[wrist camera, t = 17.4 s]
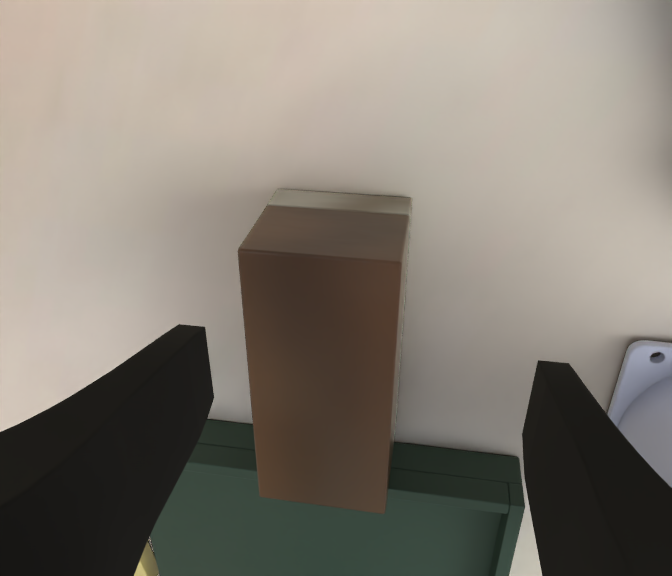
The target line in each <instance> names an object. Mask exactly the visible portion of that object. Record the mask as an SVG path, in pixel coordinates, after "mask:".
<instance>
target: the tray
mask: <svg viewBox="0 0 672 576" xmlns="http://www.w3.org/2000/svg"><path fill="white" fill-rule="evenodd" d="M524 509H525V503H524V494H523V486H522V479H521V470H520V462H519V458H518V457H512V456H504V455H495V454H487V453H479V452H471V451H463V450H454V449H446V448H438V447H430V446H422V445H414V444H405V443H397V442H394V445H393V454H392V462H391V471H390V479H389V487H388V496H387V504H386V512H385V514H379V513H371V512H364V511H357V510H350V509H343V508H336V507H328V506H321V505H314V504H307V503H300V502H293V501H285V500H278V499H271V498H264V497H260V496H259V487H258V475H257V464H256V453H255V441H254V430H253V425H250V424H242V423H234V422H225V421H217V420H209V419H207V420H206V423H205V425H204V428H203V431H202V433H201V436H200V438H199V440H198V442H197V444H196V446H195V448H194V450H193V452H192V454H191V456H190V458H189V460H188V462H187V464H186V466H185V468H184V470H183V472H182V474H181V475H180V477H179V479H178V481H177V483H176V485H175V487H174V489H173V491H172V493H171V495H170V497H169V498H168V500H167V502H166V504H165V506H164V508H163V510H162V512H161V514H160V516H159V518H158V520H157V522H156V524H155V526H154V528H153V530H152V532H151V534H150V537H151V542H152V546H153V550H154V554H155V559H156V563H157V567H158V571H159V576H509V572H510V568H511V564H512V560H513V555H514V551H515V547H516V543H517V539H518V534H519V530H520V526H521V522H522V518H523V513H524Z"/></svg>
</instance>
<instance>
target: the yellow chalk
mask: <svg viewBox="0 0 672 576" xmlns="http://www.w3.org/2000/svg"><path fill="white" fill-rule="evenodd" d="M158 574H159V571H158V567H157V563H156V559H155V556H154V554H153V552H152V550H151V547H150V545H149V543H148V541H147V544H146V546H145V549H144V551H143V554H142V556H141V559H140V561H139V564H138V566H137V569H136V572H135V574H134V576H158Z"/></svg>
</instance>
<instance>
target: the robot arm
mask: <svg viewBox="0 0 672 576" xmlns="http://www.w3.org/2000/svg"><path fill="white" fill-rule="evenodd" d="M655 352H661V354H660V355H659V356H657V357H651V354H653V353H655ZM213 399H214V393H213V386H212V378H211V370H210V362H209V355H208V347H207V339H206V331H205V327H200V326H190V325H180V324H179V325H177V326H176V327H174V328H173V329H171V330H170V331H168V332H167V333H165V334H164V335H162V336H161V337H159V338H158V339H156V340H155V341H154V342H152V343H151V344H149V345H148V346H147V347H145V348H144V349H142V350H141V351H139V352H138V353H137V354H135V355H134V356H132V357H131V358H129V359H128V360H126V361H125V362H123V363H122V364H121V365H119V366H118V367H116V368H115V369H113V370H112V371H110V372H109V373H107V374H106V375H104V376H102V377H101V378H99V379H98V380H96V381H94V382H93V383H91V384H90V385H88V386H86V387H85V388H83V389H82V390H80V391H78V392H77V393H75V394H74V395H72V396H70V397H69V398H67V399H65V400H63V401H62V402H60V403H58V404H56V405H55V406H53V407H51V408H49V409H47V410H45V411H43V412H41V413H39V414H37V415H36V416H34V417H32V418H30V419H28V420H26V421H24V422H22V423H20V424H18V425H15V426H13V427H11V428H9V429H6V430H4V431H2V432H0V576H134V574H135V572H136V569H137V566H138V564H139V561H140V559H141V556H142V554H143V551H144V549H145V546H146V544H147V541H148V539H149V537H150V534H151V532H152V530H153V528H154V526H155V524H156V522H157V520H158V518H159V516H160V514H161V512H162V510H163V508H164V506H165V504H166V502H167V500H168V498H169V497H170V495H171V493H172V491H173V489H174V487H175V485H176V483H177V481H178V479H179V477H180V475H181V474H182V472H183V470H184V468H185V466H186V464H187V462H188V460H189V458H190V456H191V454H192V452H193V450H194V448H195V446H196V444H197V442H198V440H199V438H200V436H201V433H202V431H203V428H204V425H205V423H206V420H207V417H208V414H209V411H210V408H211V405H212V402H213ZM522 439H523V460H524V475H525V483H526V489H527V494H528V500H529V505H530V511H531V516H532V522H533V527H534V532H535V538H536V543H537V549H538V554H539V559H540V565H541V570H542V575H543V576H672V343H668V342H658V341H647V340H640V341H636V342H633V343H632V344H631V345H629V347H628V349H627V351H626V355H625V358H624V361H623V364H622V368H621V371H620V374H619V378H618V381H617V384H616V387H615V391H614V394H613V397H612V400H611V404H610V407H609V410H608V413H607V414H606V413H605V411H604V410H603V409H602V407H601V406H600V405H599V403H598V402H597V401H596V399H595V398H594V397H593V395H592V394H591V393H590V391H589V390H588V389H587V387H586V386H585V384H584V383H583V382H582V380H581V379H580V378H579V376H578V375H577V373H576V372H575V371H574V369H573V368H572V367H571V366H570V364H569V363H559V362H549V361H539V360H538V363H537V368H536V372H535V377H534V382H533V386H532V391H531V396H530V400H529V405H528V409H527V414H526V419H525V423H524V428H523V433H522Z"/></svg>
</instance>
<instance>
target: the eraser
mask: <svg viewBox="0 0 672 576" xmlns="http://www.w3.org/2000/svg"><path fill="white" fill-rule="evenodd" d="M411 210H412V198H406V197H391V196H376V195H361V194H346V193H331V192H316V191H301V190H286V189H277V190H276V192H275V194H274V195H273V197H272V198H271V200H270V201H269V203H268V204H267V206H266V208H265V209H264V211H263V212H262V214H261V215H260V217H259V218H258V220H257V221H256V223H255V224H254V226H253V227H252V229H251V230H250V232H249V234H248V235H247V237H246V238H245V240H244V241H243V243H242V244H241V246H240V247H239V249H238V260H239V271H240V282H241V294H242V305H243V316H244V328H245V339H246V350H247V362H248V373H249V384H250V396H251V407H252V419H253V430H254V441H255V453H256V464H257V475H258V487H259V496H260V497H264V498H271V499H278V500H285V501H293V502H300V503H307V504H314V505H321V506H328V507H336V508H343V509H350V510H357V511H364V512H371V513H379V514H385V512H386V504H387V496H388V487H389V479H390V471H391V462H392V454H393V445H394V437H395V428H396V417H397V403H398V389H399V376H400V362H401V348H402V334H403V320H404V307H405V293H406V279H407V265H408V251H409V238H410V224H411Z"/></svg>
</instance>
